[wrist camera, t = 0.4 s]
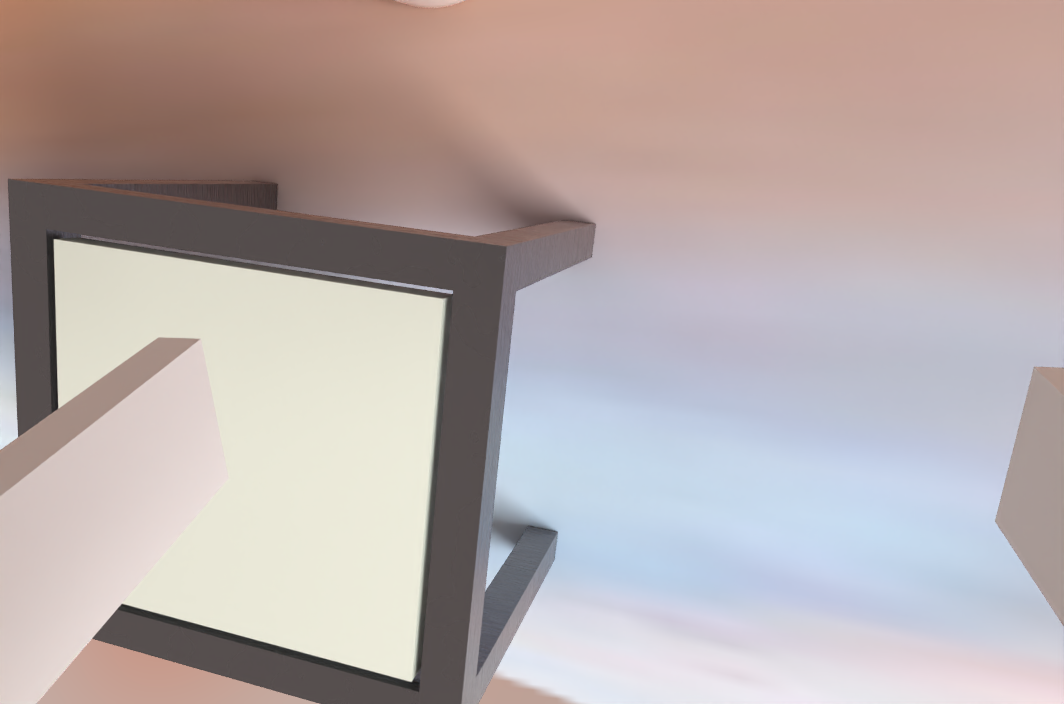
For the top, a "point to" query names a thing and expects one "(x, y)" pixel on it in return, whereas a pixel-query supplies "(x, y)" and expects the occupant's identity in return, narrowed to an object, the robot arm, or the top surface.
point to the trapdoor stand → (467, 425)
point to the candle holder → (430, 3)
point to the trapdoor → (285, 441)
